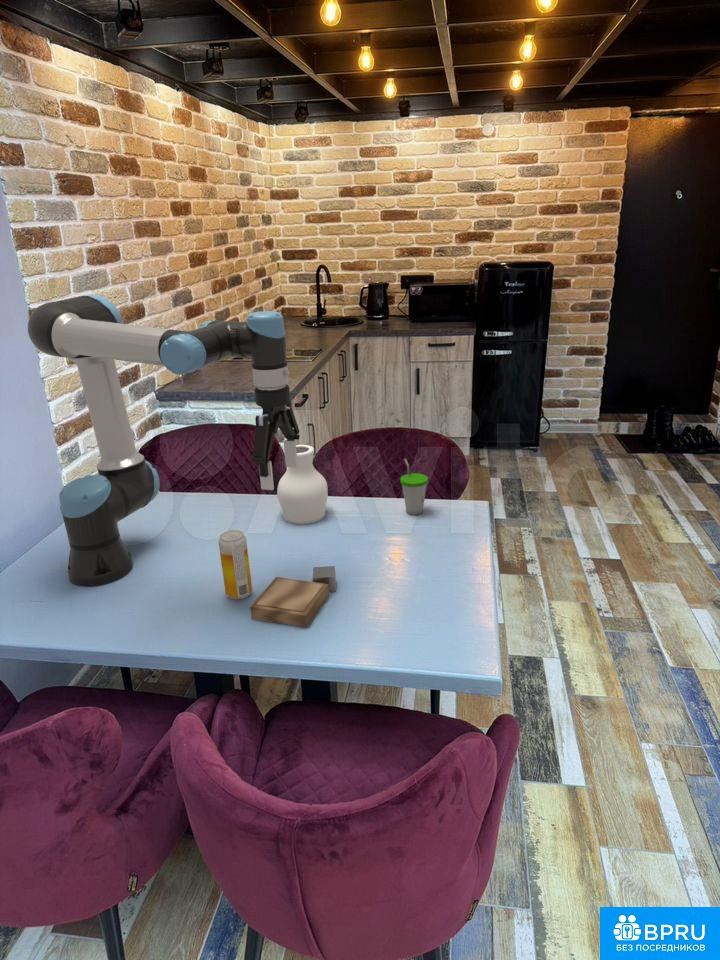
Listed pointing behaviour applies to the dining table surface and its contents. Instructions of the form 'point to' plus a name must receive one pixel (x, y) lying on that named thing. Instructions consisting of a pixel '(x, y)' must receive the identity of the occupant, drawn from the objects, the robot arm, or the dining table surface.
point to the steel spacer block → (325, 576)
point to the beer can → (235, 564)
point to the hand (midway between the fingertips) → (280, 477)
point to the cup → (414, 491)
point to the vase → (303, 490)
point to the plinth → (290, 602)
